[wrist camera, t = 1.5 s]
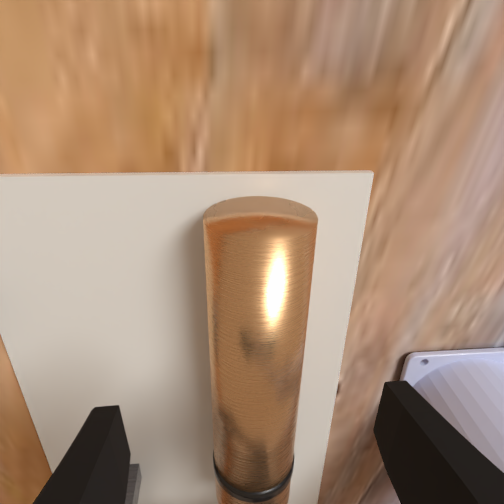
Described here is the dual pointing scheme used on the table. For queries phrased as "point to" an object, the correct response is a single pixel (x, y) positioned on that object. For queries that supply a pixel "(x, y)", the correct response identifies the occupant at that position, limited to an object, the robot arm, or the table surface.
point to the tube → (256, 340)
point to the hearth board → (158, 311)
